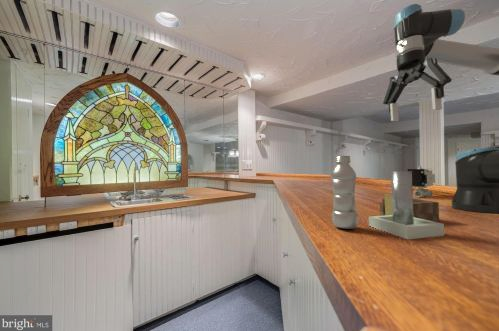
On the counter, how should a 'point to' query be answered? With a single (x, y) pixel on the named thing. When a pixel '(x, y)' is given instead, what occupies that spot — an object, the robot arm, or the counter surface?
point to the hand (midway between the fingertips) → (414, 115)
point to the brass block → (388, 203)
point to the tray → (407, 227)
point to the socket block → (420, 209)
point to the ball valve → (422, 181)
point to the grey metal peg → (402, 197)
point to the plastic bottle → (344, 194)
